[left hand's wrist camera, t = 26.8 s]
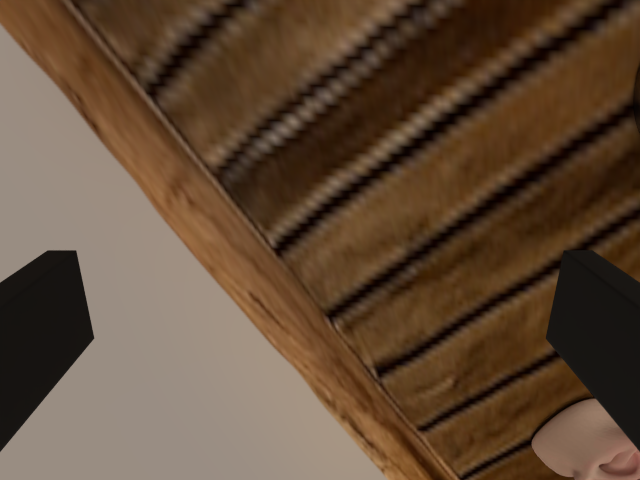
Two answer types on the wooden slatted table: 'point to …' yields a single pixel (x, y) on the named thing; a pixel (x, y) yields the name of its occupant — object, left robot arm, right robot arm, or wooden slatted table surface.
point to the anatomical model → (587, 445)
